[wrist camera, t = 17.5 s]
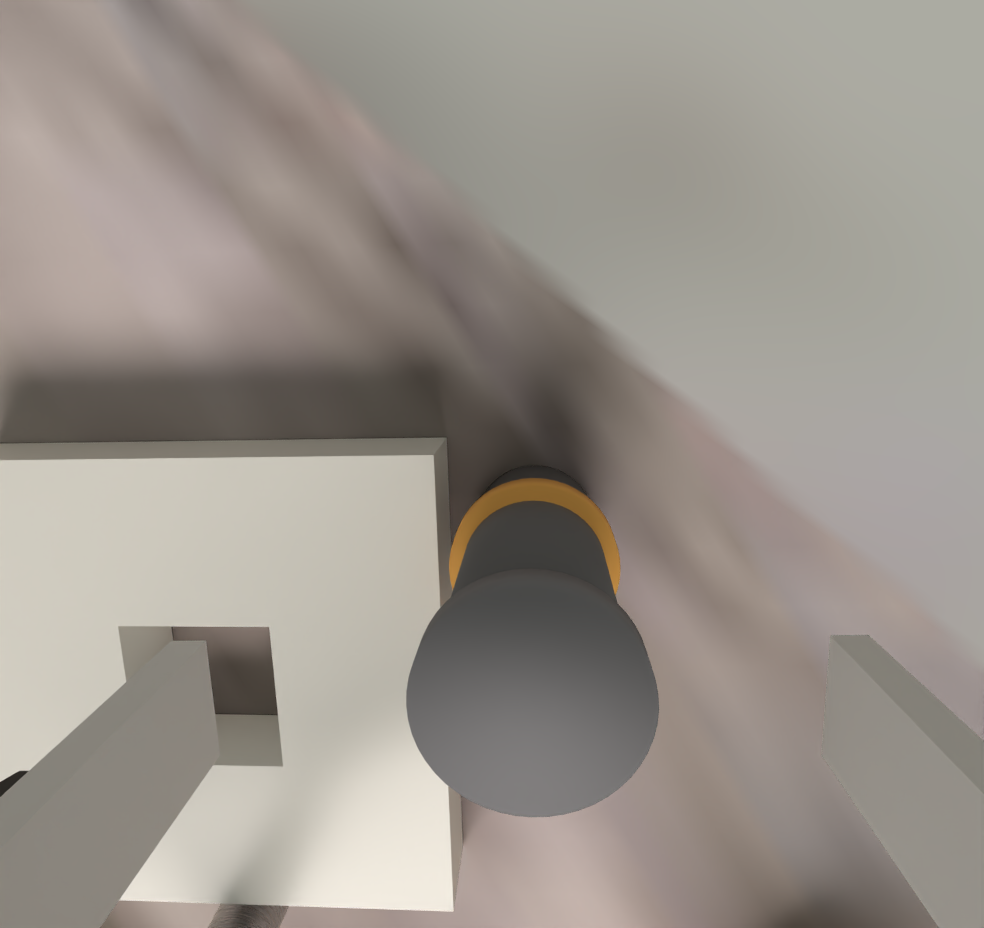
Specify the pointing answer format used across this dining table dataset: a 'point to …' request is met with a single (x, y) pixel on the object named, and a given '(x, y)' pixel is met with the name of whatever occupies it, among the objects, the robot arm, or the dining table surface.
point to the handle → (248, 916)
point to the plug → (533, 656)
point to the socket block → (245, 603)
